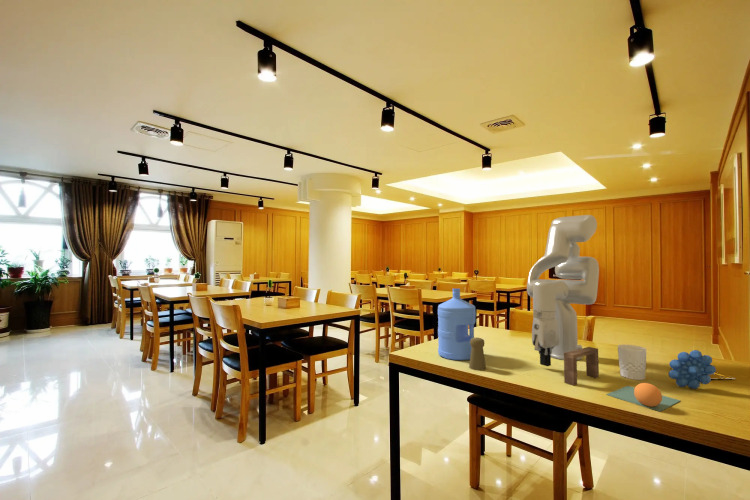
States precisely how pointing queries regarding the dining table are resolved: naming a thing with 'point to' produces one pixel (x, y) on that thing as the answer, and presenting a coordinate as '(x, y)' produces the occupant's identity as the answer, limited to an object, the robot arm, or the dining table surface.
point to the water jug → (455, 327)
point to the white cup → (632, 361)
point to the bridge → (571, 364)
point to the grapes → (691, 369)
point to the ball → (648, 394)
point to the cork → (477, 354)
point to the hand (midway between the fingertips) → (545, 365)
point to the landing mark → (629, 396)
